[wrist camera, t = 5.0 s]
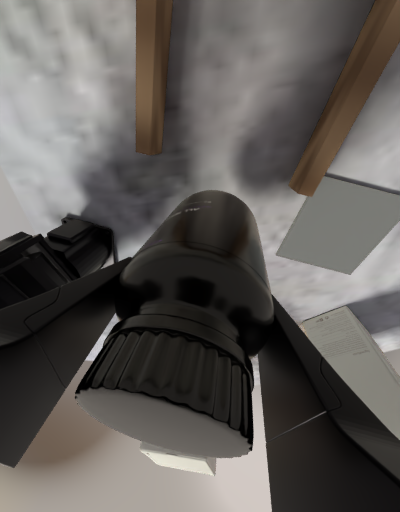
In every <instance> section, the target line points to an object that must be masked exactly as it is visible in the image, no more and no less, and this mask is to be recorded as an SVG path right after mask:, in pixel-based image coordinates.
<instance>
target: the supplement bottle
mask: <svg viewBox="0 0 400 512" xmlns="http://www.w3.org/2000/svg"><path fill="white" fill-rule="evenodd" d="M114 303H115V311H116V315H117V318H118V320H119V322H118V323H117V324H116V325H115V326H114V327H113V328H112V330H111V331H110V333H109V335H108V336H107V338H106V339H105V341H104V343H103V348H102V349H101V351H100V352H99V354H98V355H97V357H96V358H95V360H94V361H93V363H92V365H91V366H90V368H89V369H88V371H87V372H86V374H85V375H84V377H83V379H82V380H81V382H80V384H79V385H78V387H77V390H76V392H75V394H76V396H75V399H76V400H77V402H78V403H77V404H78V405H80V406H81V407H82V409H83V410H84V411H85V412H87V413H88V414H89V415H90V416H91V417H93V418H95V419H96V420H98V421H99V422H101V423H103V424H105V425H106V426H108V427H110V428H112V429H114V430H116V431H118V432H121V433H123V434H125V435H128V436H130V437H132V438H135V439H138V440H140V441H143V442H146V443H149V444H152V445H155V446H158V447H162V448H165V449H169V450H173V451H177V452H181V453H186V454H192V455H197V456H204V457H214V458H233V457H241V456H242V455H247V454H248V452H250V451H252V446H253V413H252V412H253V411H252V394H251V393H252V391H253V388H254V376H253V367H252V363H251V360H250V359H252V358H253V357H254V356H255V355H257V354H258V353H259V352H260V351H261V349H262V348H263V347H264V345H265V344H266V342H267V340H268V339H269V336H270V334H271V331H272V328H273V324H274V308H273V300H272V295H271V290H270V285H269V280H268V275H267V270H266V265H265V261H264V256H263V251H262V246H261V241H260V236H259V231H258V227H257V223H256V220H255V217H254V215H253V213H252V212H251V210H250V209H249V207H248V206H247V205H246V204H245V203H244V202H243V201H242V200H240V199H239V198H237V197H236V196H234V195H232V194H230V193H227V192H223V191H218V190H207V191H201V192H198V193H195V194H193V195H191V196H189V197H188V198H186V199H185V200H184V201H182V202H181V203H180V204H179V205H178V206H177V207H176V208H175V210H174V211H173V212H172V213H171V214H170V215H169V216H168V218H167V219H166V220H165V221H164V222H163V223H162V224H161V226H160V227H159V228H158V229H157V230H156V231H155V232H154V234H153V235H152V236H151V237H150V238H149V239H148V240H147V241H146V243H145V244H144V245H143V246H142V247H141V248H140V249H139V251H138V252H137V253H136V254H135V255H134V256H133V258H132V259H131V260H130V261H129V262H128V264H127V265H126V266H125V268H124V269H123V270H122V272H121V274H120V276H119V278H118V281H117V283H116V288H115V296H114Z"/></svg>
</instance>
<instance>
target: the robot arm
mask: <svg viewBox="0 0 400 512" xmlns="http://www.w3.org/2000/svg"><path fill="white" fill-rule="evenodd" d="M61 221H62V225H61V226H60V227H58V228H56V229H54V230H52V231H50V232H48V233H47V237H45V238H44V237H43V236H42V235H41V234H38V235H35V236H32V235H28V234H26V233H24V232H19V233H17V234H15V235H13V236H11V237H8V238H6V239H4V240H1V241H0V465H4V466H8V467H11V468H14V467H15V466H16V465H17V463H18V462H19V460H20V459H21V458H22V456H23V454H24V453H25V451H26V450H27V448H28V447H29V445H30V444H31V442H32V441H33V439H34V438H35V436H36V435H37V433H38V431H39V430H40V428H41V427H42V425H43V424H44V422H45V421H46V419H47V417H48V416H49V414H50V413H51V411H52V410H53V408H54V407H55V405H56V404H57V402H58V401H59V399H60V398H61V396H62V394H63V393H64V391H65V389H66V388H67V387H68V385H69V384H70V382H71V380H72V379H73V377H74V376H75V374H76V373H77V371H78V370H79V368H80V366H81V365H82V364H83V362H84V360H85V359H86V357H87V356H88V354H89V353H90V351H91V350H92V348H93V347H94V345H95V344H96V342H97V341H98V339H99V337H100V336H101V334H102V333H103V331H104V330H105V328H106V327H107V325H108V324H109V322H110V321H111V319H112V317H113V316H114V314H115V313H116V311H115V303H114V296H115V288H116V283H117V281H118V278H119V276H120V274H121V272H122V270H123V269H124V268H125V266H126V265H127V264H128V262H129V261H130V260H131V259H132V257H128V258H126V259H123V260H121V261H119V262H116V263H115V252H114V239H113V231H112V230H111V229H109V228H106V227H102V226H98V225H95V224H93V223H89V222H85V221H81V220H77V219H71V218H67V217H65V218H63V219H62V220H61ZM66 221H67V222H66ZM107 231H108V232H109V233H108V232H107ZM102 267H104V268H102ZM101 268H102V269H101ZM271 295H272V294H271ZM272 300H273V308H274V324H273V328H272V331H271V334H270V336H269V339H268V340H267V342H266V344H265V345H264V347H263V348H262V349H261V351H260V352H259V353H258V362H259V373H260V384H261V395H262V404H263V416H264V427H265V438H266V449H267V462H268V472H269V483H270V493H271V505H272V512H400V440H399V439H398V438H397V437H396V436H395V435H394V434H393V433H392V432H391V431H390V430H389V429H388V428H387V427H386V426H385V425H384V424H383V423H382V422H381V421H380V420H379V418H378V417H377V416H376V415H375V414H374V413H373V412H372V411H371V410H370V409H369V408H368V407H367V405H366V404H365V403H364V402H363V401H362V400H361V399H360V398H359V397H358V396H357V395H356V394H355V392H354V391H353V390H352V389H351V388H350V387H349V386H348V385H347V384H346V383H345V381H344V380H343V379H342V378H341V377H340V376H339V375H338V373H337V372H336V371H335V370H334V369H333V368H332V366H331V365H330V364H329V363H328V362H327V360H326V359H325V358H324V357H323V356H322V354H321V353H320V352H319V351H318V350H317V348H316V347H315V346H314V345H313V343H312V342H311V341H310V340H309V339H308V337H307V336H306V335H305V334H304V333H303V331H302V330H301V329H300V328H299V326H298V325H297V324H296V323H295V322H294V320H293V319H292V318H291V317H290V315H289V314H288V313H287V312H286V311H285V309H284V308H283V307H282V306H281V305H280V303H279V302H278V301H277V300H276V298H275V297H274V296H273V295H272Z"/></svg>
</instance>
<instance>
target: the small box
mask: <svg viewBox="0 0 400 512" xmlns="http://www.w3.org/2000/svg"><path fill="white" fill-rule="evenodd" d="M302 324H303V327H304V329H305V332H306V334H307V337H308V339H309V340H310V341H311V342H312V343H313V345H314V346H315V347H316V348H317V350H318V351H319V352H320V353H321V354H322V356H323V357H324V358H325V359H326V360H327V362H328V363H329V364H330V365H331V366H332V368H333V369H334V370H335V371H336V372H337V373H338V375H339V376H340V377H341V378H342V379H343V380H344V381H345V383H346V384H347V385H348V386H349V387H350V388H351V389H352V390H353V391H354V392H355V394H356V395H357V396H358V397H359V398H360V399H361V400H362V401H363V402H364V403H365V404H366V405H367V407H368V408H369V409H370V410H371V411H372V412H373V413H374V414H375V415H376V416H377V417H378V418H379V420H380V421H381V422H382V423H383V424H384V425H385V426H386V427H387V428H388V429H389V430H390V431H391V432H392V433H393V434H394V435H395V436H396V437H397V438H398V439H399V440H400V376H399V375H398V373H397V372H396V371H395V369H394V368H393V366H392V365H391V364H390V362H389V361H388V359H387V358H386V356H385V355H384V354H383V352H382V351H381V349H380V348H379V346H378V345H377V343H376V342H375V340H374V339H373V338H372V336H371V335H370V333H369V332H368V331H367V330H366V328H365V327H364V326H363V325H362V324H361V322H360V321H359V320H358V319H357V318H356V316H355V315H354V314H353V313H352V312H351V310H350V309H349V308H348V307H347V306H344V307H341V308H338V309H335V310H333V311H330V312H327V313H325V314H322V315H320V316H317V317H314V318H312V319H309V320H307V321H304V322H302Z"/></svg>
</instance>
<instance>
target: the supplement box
mask: <svg viewBox="0 0 400 512" xmlns="http://www.w3.org/2000/svg"><path fill="white" fill-rule="evenodd" d="M140 451H141V452H143V453H144V454H146V455H147V456H148V457H149V458H151V459H152V460H153V461H154V462H155V463H156V464H157V465H161V466H166V467H172V468H177V469H182V470H187V471H193V472H198V473H204V474H209V475H214V476H215V471H216V458H214V457H204V456H197V455H192V454H186V453H181V452H177V451H173V450H169V449H165V448H162V447H158V446H155V445H152V444H149V443H146V442H143V441H142V442H141V446H140Z"/></svg>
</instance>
